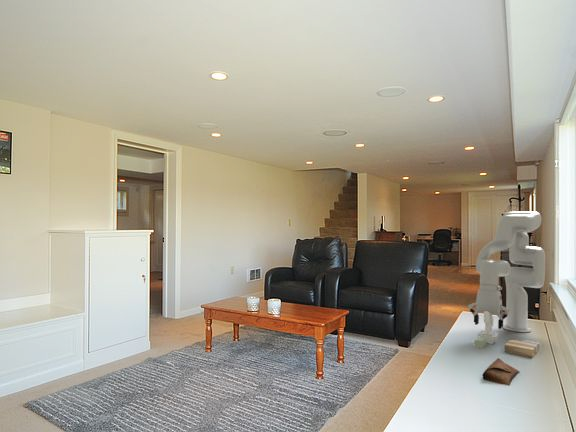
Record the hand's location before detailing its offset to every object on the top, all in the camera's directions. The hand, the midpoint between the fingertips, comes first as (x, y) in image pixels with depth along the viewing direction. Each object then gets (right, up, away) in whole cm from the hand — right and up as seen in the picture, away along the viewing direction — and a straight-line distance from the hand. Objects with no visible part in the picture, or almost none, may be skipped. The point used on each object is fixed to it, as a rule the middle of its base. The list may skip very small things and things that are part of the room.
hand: (488, 326), depth 180 cm
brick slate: (+14, -8, -8) cm, 18 cm away
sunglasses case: (-16, -7, -41) cm, 44 cm away
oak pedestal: (+7, -7, -13) cm, 16 cm away
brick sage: (-7, -7, -6) cm, 11 cm away
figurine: (0, -7, 0) cm, 7 cm away
